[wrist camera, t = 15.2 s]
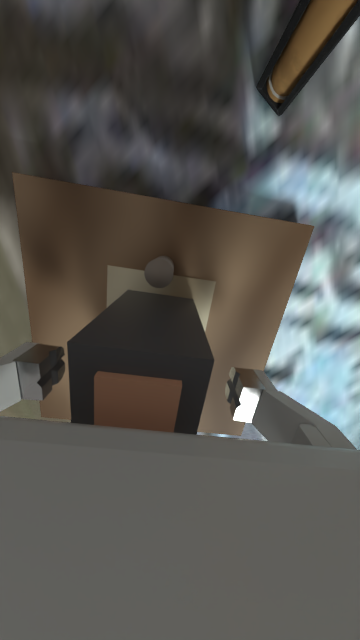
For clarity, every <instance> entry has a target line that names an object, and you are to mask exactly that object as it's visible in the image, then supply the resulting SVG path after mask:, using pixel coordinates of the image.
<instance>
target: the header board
mask: <svg viewBox="0 0 360 640" xmlns="http://www.w3.org/2000/svg"><path fill="white" fill-rule="evenodd" d="M12 176H13V184H14V192H15V201H16V209H17V217H18V226H19V234H20V242H21V251H22V259H23V268H24V276H25V284H26V293H27V301H28V309H29V318H30V326H31V334H32V342H33V343H40V344H48V345H55V346H62V347H63V348H64V353H65V355H64V356H63V358H62V360H63V361H64V362H65V373H64V375H63V377H62V379H61V380H60V382H59V383H57V384H55V385H53V386H52V391H51V392H50V393H49V394H48V395H47V396H46V398H45V399H44V400H39V401H40V409H41V417H47V418H58V419H69V420H71V408H70V389H69V370H68V351H67V342H68V341H69V340H70V339H71V338H72V337H74V336H75V335H76V334H77V333H78V332H79V331H81V330H82V329H83V328H84V327H85V326H86V325H88V324H89V323H90V322H91V321H92V320H93V319H94V318H96V317H97V316H98V315H99V314H100V313H101V312H103V311H104V310H105V309H106V308H107V307H108V306H110V305H111V304H112V303H113V302H114V301H115V300H117V299H118V298H119V297H120V296H121V295H122V294H124V293H125V292H126V291H127V290H134V291H141V292H148V293H155V294H162V295H169V296H176V297H183V298H190V299H193V300H194V302H195V305H196V308H197V311H198V314H199V317H200V320H201V322H202V325H203V328H204V331H205V334H206V337H207V340H208V343H209V345H210V348H211V351H212V354H213V357H214V360H215V361H214V365H213V369H212V373H211V377H210V381H209V385H208V389H207V393H206V398H205V402H204V406H203V410H202V414H201V418H200V422H199V426H198V430H197V432H206V433H217V434H227V435H238V436H241V434H242V431H243V428H244V425H245V423H246V421H239V420H233V417H232V414H231V412H230V409H229V408H230V405H231V404H230V403H228V402H227V400H226V395H225V387H226V383H227V381H228V380H230V379H231V378H230V376H229V372H230V370H231V368H232V367H234V368H245V369H256V370H262V371H264V368H265V365H266V363H267V360H268V357H269V354H270V351H271V348H272V345H273V343H274V340H275V337H276V334H277V331H278V328H279V326H280V323H281V320H282V317H283V314H284V311H285V308H286V306H287V303H288V300H289V297H290V294H291V291H292V288H293V286H294V283H295V280H296V277H297V274H298V271H299V268H300V266H301V263H302V260H303V257H304V254H305V251H306V248H307V246H308V243H309V240H310V237H311V234H312V231H313V229H314V226H311V225H305V224H300V223H294V222H289V221H283V220H277V219H272V218H266V217H261V216H255V215H249V214H244V213H238V212H233V211H227V210H221V209H216V208H210V207H205V206H199V205H193V204H188V203H182V202H176V201H171V200H165V199H160V198H154V197H148V196H143V195H137V194H132V193H126V192H120V191H115V190H109V189H104V188H98V187H92V186H87V185H81V184H75V183H70V182H64V181H59V180H53V179H47V178H42V177H36V176H31V175H25V174H19V173H14V172H12Z"/></svg>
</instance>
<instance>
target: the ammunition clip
mask: <svg viewBox="0 0 360 640" xmlns="http://www.w3.org/2000/svg"><path fill="white" fill-rule="evenodd" d="M359 16H360V0H300V2H299V4H298V6H297V8H296V10H295V12H294V14H293V16H292V18H291V20H290V22H289V24H288V26H287V28H286V30H285V31H284V33H283V35H282V37H281V39H280V41H279V43H278V45H277V47H276V49H275V51H274V53H273V55H272V57H271V59H270V61H269V63H268V65H267V67H266V69H265V71H264V73H263V75H262V77H261V79H260V81H259V83H258V85H257V89H258V90H259V92H260V93H261V94H262V95H263V97H264V98H265V99H266V101H267V102H268V103H269V104H270V106H271V107H272V108H273V110H274V111H275V112H276V113H277V115H278V116H280V115H282V114H283V112H284V111H285V110H286V108H287V107H288V106H289V105H290V103H291V102H292V101H293V100H294V98H295V97H296V96H297V95H298V93H299V92H300V91H301V89H302V88H303V87H304V86H305V84H306V83H307V82H308V81H309V79H310V78H311V77H312V76H313V74H314V73H315V72H316V70H317V69H318V68H319V67H320V65H321V64H322V63H323V62H324V60H325V59H326V58H327V57H328V55H329V54H330V53H331V51H332V50H333V49H334V48H335V46H336V45H337V44H338V43H339V41H340V40H341V39H342V38H343V36H344V35H345V34H346V32H347V31H348V30H349V29H350V27H351V26H352V25H353V24H354V22H355V21H356V20H357V19H358V17H359Z"/></svg>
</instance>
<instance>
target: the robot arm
mask: <svg viewBox="0 0 360 640" xmlns="http://www.w3.org/2000/svg"><path fill="white" fill-rule="evenodd" d="M64 355H65V353H64V348H63V347H62V346H55V345H48V344H40V343H33V342H26V343H24V344H22V345H21V346H19V347H17V348H16V349H14V350H13V351H11V352H9V353H8V354H6V355H4V356H3V357H1V358H0V411H2V410H4V409H6V408H8V407H9V406H11V405H13V404H15V403H17V402H19V401H20V400H21V399H29V400H44V399H45V398H46V396H47V395H48V394H49V393H50V392H51V391H52V386H53V385H55V384H57V383H59V382H60V380H61V379H62V377H63V375H64V373H65V362H64V361H63V360H62V358H63V356H64ZM229 376H230V378H231V379H230V380H228V381H227V383H226V387H225V395H226V400H227V402H228V403H230V404H231V405H230V408H229V409H230V412H231V414H232V417H233V420H239V421H246V422H252V424H253V425H254V426H255V427H256V429H257V430H258V431H259V432H260V433H261V434H262V435H263V436H264V437H265V438H266V439H267V440H268V441H258V440H248V439H237V438H227V437H216V436H205V435H195V434H184V433H174V432H163V431H152V430H142V429H131V428H121V427H110V426H99V425H89V424H78V423H68V422H57V421H47V420H36V419H26V418H15V417H5V416H0V640H360V450H357V449H356V448H355V447H354V446H353V445H352V443H351V442H350V441H349V440H348V439H347V438H346V437H345V436H344V435H343V433H342V432H341V431H340V430H339V429H338V428H337V427H336V426H335V425H333V424H331V423H330V422H328V421H327V420H325V419H324V418H322V417H320V416H319V415H317V414H316V413H314V412H312V411H311V410H309V409H308V408H306V407H305V406H303V405H301V404H300V403H298V402H297V401H295V400H293V399H292V398H290V397H289V396H287V395H286V394H284V393H282V392H280V391H277V389H276V388H275V387H274V385H273V384H272V382H271V381H270V380H269V378H268V377H267V376H266V374H265V373H264V371H262V370H256V369H245V368H234V367H232V368H231V370H230V372H229Z"/></svg>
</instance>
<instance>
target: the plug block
mask: <svg viewBox="0 0 360 640" xmlns="http://www.w3.org/2000/svg"><path fill="white" fill-rule="evenodd" d="M67 351H68V370H69V389H70V408H71V423H78V424H89V425H99V426H110V427H121V428H131V429H142V430H152V431H163V432H174V433H184V434H195V435H196V434H197V430H198V426H199V422H200V418H201V414H202V410H203V406H204V402H205V398H206V393H207V389H208V385H209V381H210V377H211V373H212V369H213V365H214V361H215V360H214V357H213V354H212V351H211V348H210V345H209V343H208V340H207V337H206V334H205V331H204V328H203V325H202V322H201V320H200V317H199V314H198V311H197V308H196V305H195V302H194V300H193V299H190V298H183V297H176V296H169V295H162V294H155V293H148V292H141V291H134V290H127V291H126V292H125V293H124V294H122V295H121V296H120V297H119V298H118V299H117V300H115V301H114V302H113V303H112V304H111V305H110V306H108V307H107V308H106V309H105V310H104V311H103V312H101V313H100V314H99V315H98V316H97V317H96V318H94V319H93V320H92V321H91V322H90V323H89V324H88V325H86V326H85V327H84V328H83V329H82V330H81V331H79V332H78V333H77V334H76V335H75V336H74V337H72V338H71V339H70V340H69V341H68V342H67Z"/></svg>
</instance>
